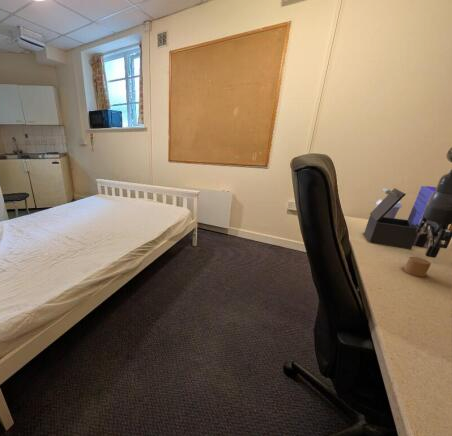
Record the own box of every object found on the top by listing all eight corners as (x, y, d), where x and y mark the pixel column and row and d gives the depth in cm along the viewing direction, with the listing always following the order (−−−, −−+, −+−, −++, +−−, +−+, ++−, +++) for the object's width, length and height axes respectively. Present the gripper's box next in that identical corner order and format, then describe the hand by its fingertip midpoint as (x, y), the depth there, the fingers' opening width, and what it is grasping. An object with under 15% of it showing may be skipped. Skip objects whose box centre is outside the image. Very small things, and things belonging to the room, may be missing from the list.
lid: (396, 188, 100) (384, 183, 101) (406, 194, 90) (392, 188, 92) (371, 214, 107) (360, 209, 108) (378, 222, 97) (365, 216, 99)
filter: (421, 270, 80) (427, 258, 78) (427, 278, 75) (434, 265, 74) (401, 266, 82) (406, 255, 80) (406, 273, 78) (412, 261, 76)
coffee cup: (397, 231, 113) (408, 203, 108) (382, 232, 112) (392, 204, 106) (377, 224, 122) (387, 198, 117) (363, 225, 120) (372, 199, 115)
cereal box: (426, 247, 96) (451, 194, 88) (410, 244, 99) (433, 192, 90) (416, 234, 109) (436, 187, 101) (402, 232, 112) (421, 185, 103)
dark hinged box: (401, 239, 104) (409, 220, 100) (411, 249, 95) (420, 228, 91) (363, 233, 110) (370, 215, 107) (369, 242, 101) (376, 222, 98)
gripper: (478, 214, 62) (451, 264, 68) (450, 203, 74) (429, 245, 80) (439, 210, 66) (417, 257, 72) (418, 199, 77) (401, 241, 83)
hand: (423, 251), depth 76 cm, fingers open, 8 cm apart
